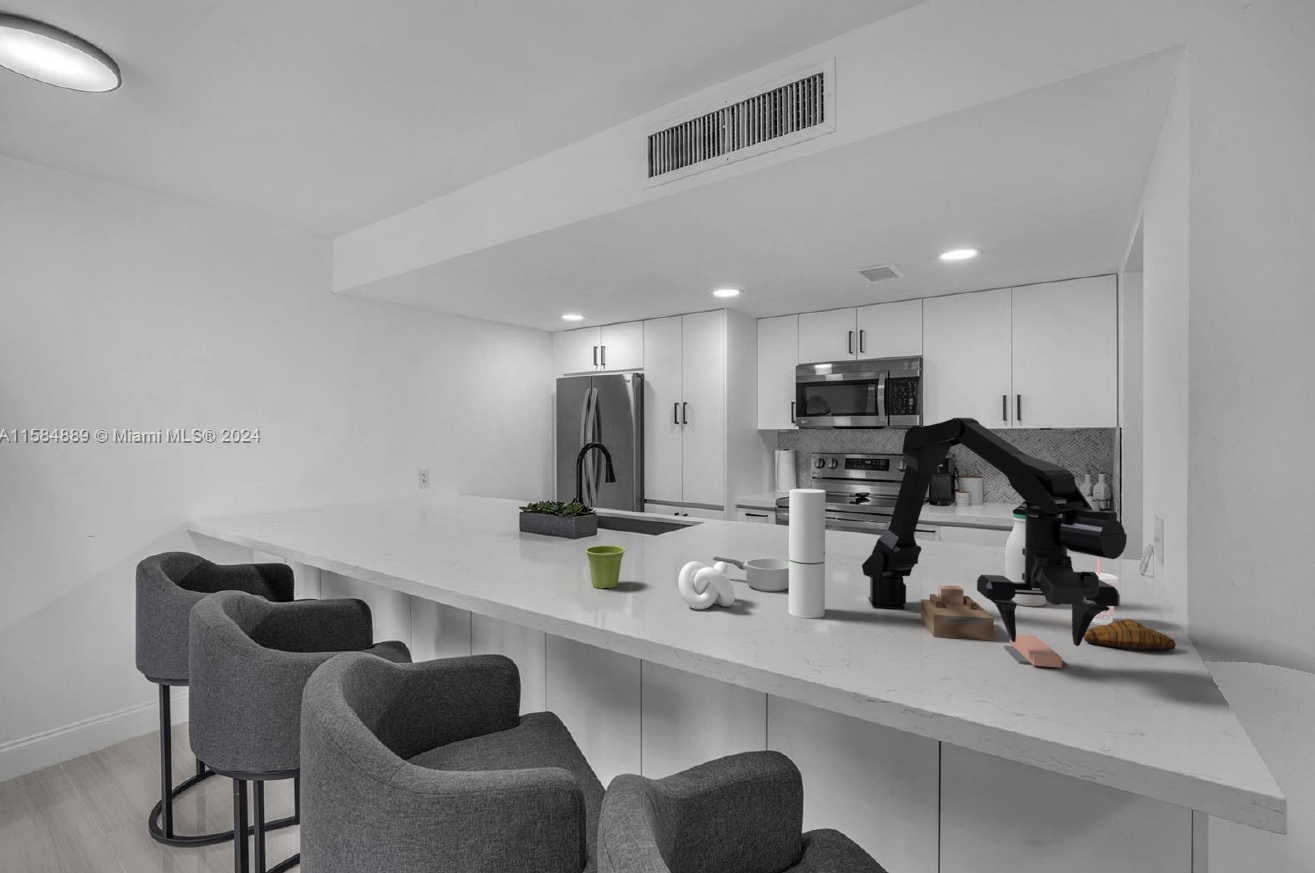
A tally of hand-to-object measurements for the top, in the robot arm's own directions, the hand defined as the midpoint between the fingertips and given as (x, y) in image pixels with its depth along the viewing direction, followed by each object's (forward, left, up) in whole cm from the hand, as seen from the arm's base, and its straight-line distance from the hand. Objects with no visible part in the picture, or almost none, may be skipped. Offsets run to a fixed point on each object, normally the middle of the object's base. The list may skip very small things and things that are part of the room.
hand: (1044, 643), depth 98 cm
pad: (0, +4, -4) cm, 5 cm away
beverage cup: (+20, +27, -4) cm, 33 cm away
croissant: (+18, +12, -4) cm, 22 cm away
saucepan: (-48, +41, -4) cm, 63 cm away
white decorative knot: (-57, +22, -4) cm, 61 cm away
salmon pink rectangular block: (0, +3, -3) cm, 5 cm away
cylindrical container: (-36, +21, -4) cm, 42 cm away
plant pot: (-82, +33, -4) cm, 88 cm away
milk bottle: (+11, +37, -4) cm, 39 cm away
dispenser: (-9, +16, -4) cm, 18 cm away
